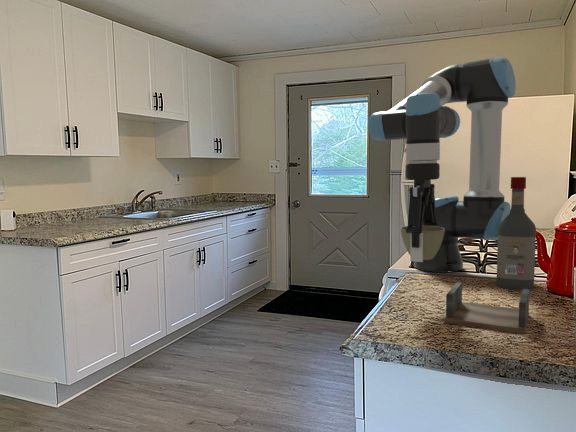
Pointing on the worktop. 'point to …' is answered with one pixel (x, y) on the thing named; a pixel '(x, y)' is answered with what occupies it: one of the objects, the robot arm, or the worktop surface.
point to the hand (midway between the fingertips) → (422, 256)
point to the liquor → (516, 243)
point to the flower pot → (426, 240)
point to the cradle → (486, 313)
